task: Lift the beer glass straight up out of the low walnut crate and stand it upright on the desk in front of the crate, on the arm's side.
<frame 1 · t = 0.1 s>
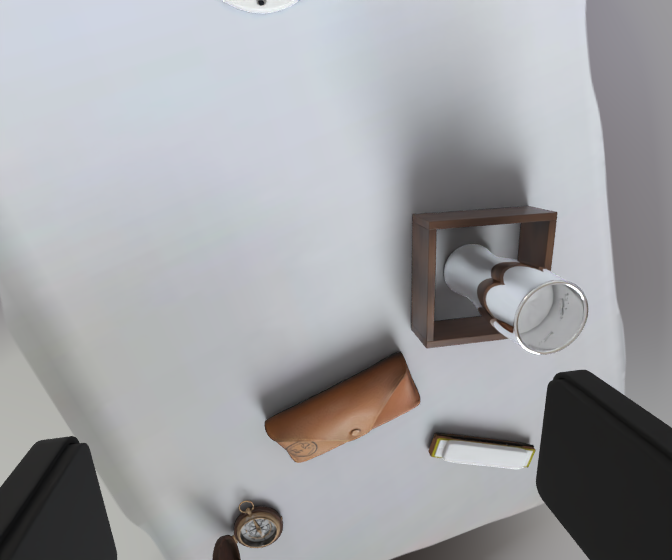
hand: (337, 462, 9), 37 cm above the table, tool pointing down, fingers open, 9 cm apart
compass: (250, 519, 54), on the table
harmonica: (479, 445, 57), on the table
sunglasses case: (345, 405, 52), on the table
crate: (468, 269, 49), on the table
beer glass: (467, 268, 49), resting in crate
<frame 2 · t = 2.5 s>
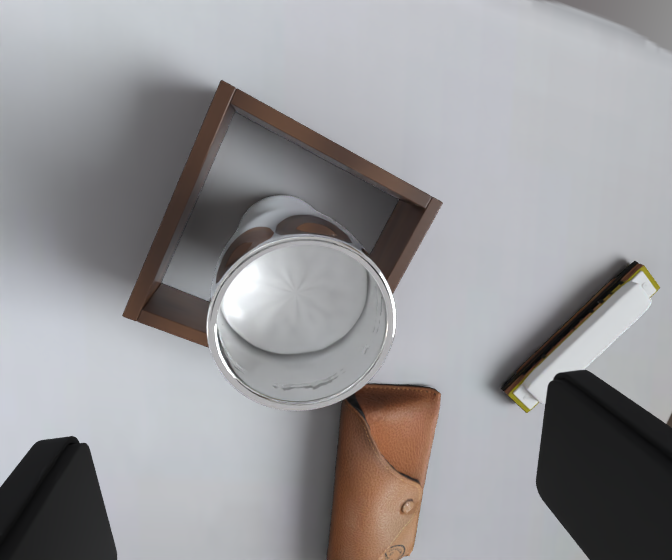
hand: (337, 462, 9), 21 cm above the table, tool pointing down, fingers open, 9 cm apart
harmonica: (570, 333, 35), on the table
sunglasses case: (377, 474, 36), on the table
crate: (282, 240, 29), on the table
beer glass: (282, 239, 29), resting in crate
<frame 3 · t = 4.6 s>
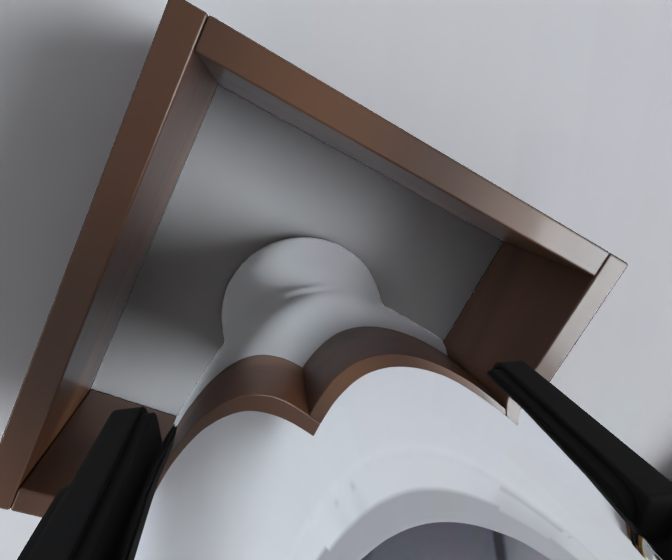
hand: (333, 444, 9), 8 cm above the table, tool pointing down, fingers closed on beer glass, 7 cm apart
crate: (302, 312, 16), on the table
beer glass: (302, 311, 17), resting in crate, touching gripper
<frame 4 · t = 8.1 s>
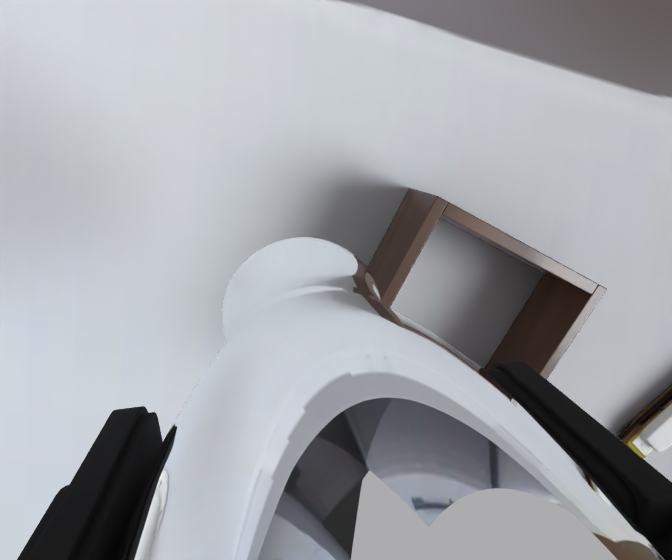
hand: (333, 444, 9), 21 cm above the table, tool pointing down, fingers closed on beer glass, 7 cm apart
crate: (440, 311, 32), on the table
beer glass: (302, 311, 17), point 13 cm above the table, touching gripper
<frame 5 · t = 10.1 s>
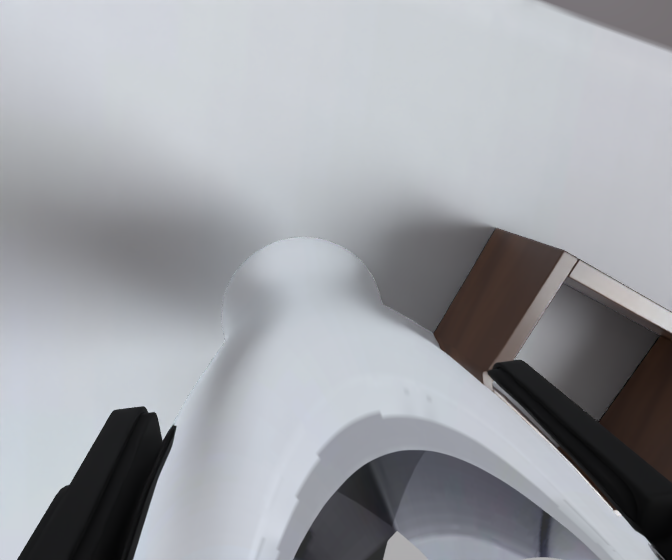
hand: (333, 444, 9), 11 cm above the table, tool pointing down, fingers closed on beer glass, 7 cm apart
crate: (525, 386, 24), on the table
beer glass: (302, 310, 17), point 3 cm above the table, touching gripper
when the fingers open (8 cm above the table, at t = 11.6 s): beer glass stays where it is, on the table.
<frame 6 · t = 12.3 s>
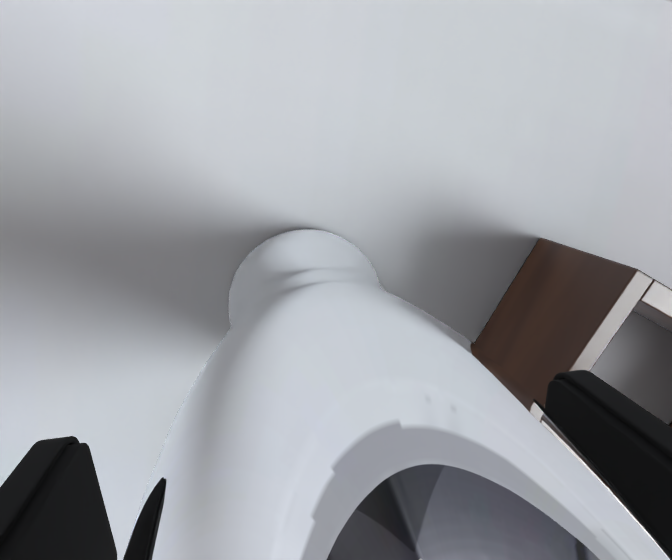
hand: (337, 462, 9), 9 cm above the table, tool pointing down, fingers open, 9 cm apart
crate: (566, 416, 21), on the table
beer glass: (305, 300, 17), on the table
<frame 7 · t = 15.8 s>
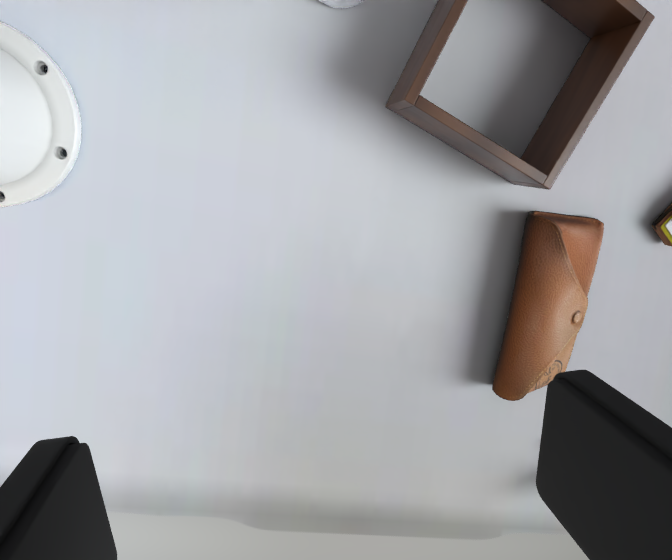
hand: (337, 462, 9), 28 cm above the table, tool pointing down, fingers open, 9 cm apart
sunglasses case: (539, 303, 42), on the table
crate: (495, 69, 34), on the table
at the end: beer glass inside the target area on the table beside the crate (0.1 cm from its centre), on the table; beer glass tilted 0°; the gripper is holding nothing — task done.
